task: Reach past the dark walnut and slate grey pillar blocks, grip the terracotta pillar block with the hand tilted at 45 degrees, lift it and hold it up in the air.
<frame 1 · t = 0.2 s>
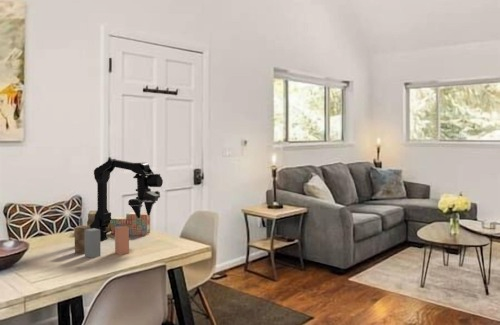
hand: (143, 216, 227), 14 cm above the table, tool pointing down, fingers open, 9 cm apart
walnut block: (82, 252, 210), on the table
slate grey block: (92, 256, 204), on the table
terracotta block: (122, 252, 210), on the table
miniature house: (99, 231, 258), on the table
stack of blocks: (130, 234, 251), on the table
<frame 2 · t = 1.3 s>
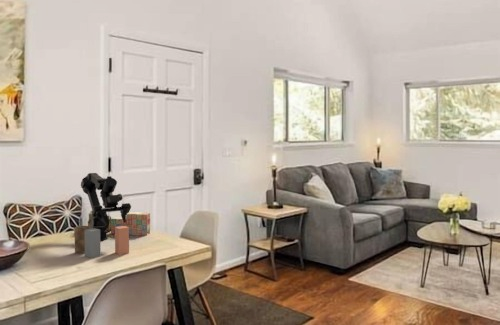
hand: (115, 223, 216), 13 cm above the table, tool tilted 45°, fingers open, 9 cm apart
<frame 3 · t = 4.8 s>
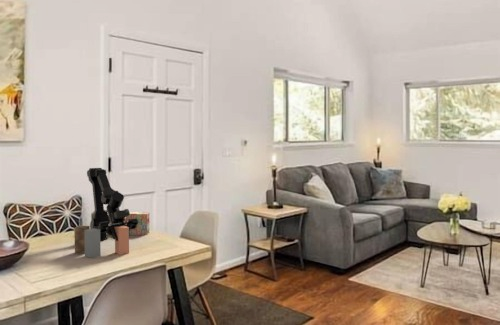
hand: (123, 239, 208), 7 cm above the table, tool tilted 45°, fingers closed on terracotta block, 5 cm apart
terracotta block: (122, 252, 210), on the table, touching gripper
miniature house: (102, 231, 259), on the table
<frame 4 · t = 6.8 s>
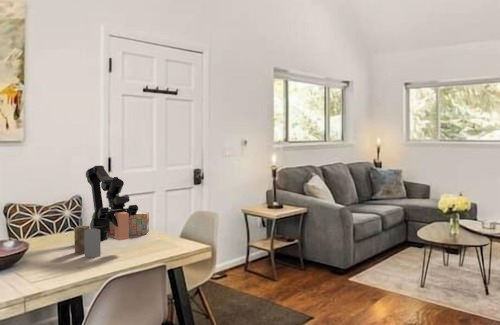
hand: (122, 225, 208), 13 cm above the table, tool tilted 45°, fingers closed on terracotta block, 5 cm apart
terracotta block: (121, 238, 209), point 7 cm above the table, touching gripper
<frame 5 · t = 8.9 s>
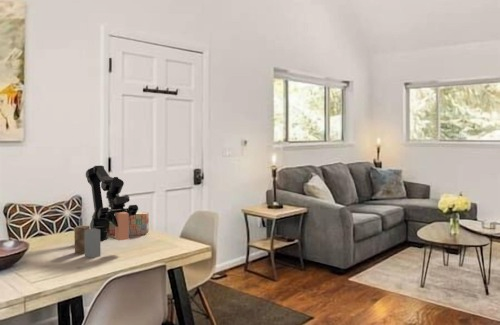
hand: (122, 225, 208), 13 cm above the table, tool tilted 45°, fingers closed on terracotta block, 5 cm apart
terracotta block: (121, 238, 209), point 7 cm above the table, touching gripper
at the end: the gripper is holding terracotta block; terracotta block point 6.8 cm above the table; slate grey block moved 0.0 cm from its start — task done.
